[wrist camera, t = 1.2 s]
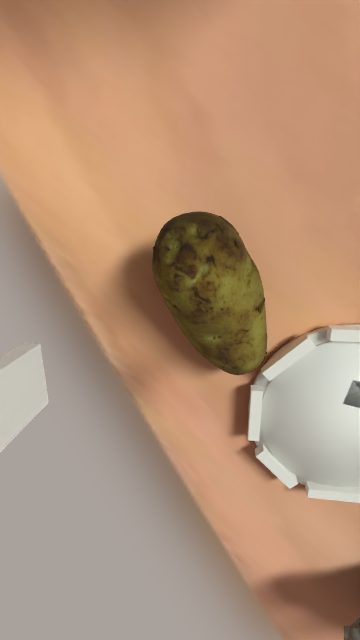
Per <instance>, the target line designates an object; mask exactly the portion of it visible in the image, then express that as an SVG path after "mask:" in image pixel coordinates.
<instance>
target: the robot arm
mask: <svg viewBox="0 0 360 640" xmlns="http://www.w3.org/2000/svg"><path fill="white" fill-rule="evenodd" d="M48 403H49V399H48V392H47V386H46V379H45V373H44V366H43V359H42V353H41V346H40V344H37V343H22V344H20V345H19V346H17V347H15V348H14V349H12V350H11V351H9V352H7V353H5V354H4V355H2V356H0V452H1V451H2V450H3V449H4V448H5V447H6V446H7V445H8V444H9V443H10V442H11V441H12V440H13V439H14V438H15V437H16V436H17V435H18V434H19V433H20V432H21V431H22V429H24V428H25V427H26V426H27V424H28V423H29V422H31V421H32V419H33V418H34V417H35V416H36V415H37V414H38V413H39V412H40V411H41V410H42V409H43V408H44V407H45V406H46V405H47V404H48Z"/></svg>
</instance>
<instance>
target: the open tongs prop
mask: <svg viewBox="0 0 360 640" xmlns="http://www.w3.org/2000/svg"><path fill="white" fill-rule="evenodd" d="M354 382H355V383H356V384H357V382H358V384H357V385H358V386H356V387H358V389H360V382H359V381H357V382H356V381H355V380H354ZM354 382H353V383H354ZM356 384H355V385H356ZM355 385H353V386H354V387H355ZM353 386H352V385H351V387H350V388H351V389H352V388H353V389H354V387H353ZM356 387H355V388H356ZM353 389H352V390H353ZM356 389H357V388H356ZM352 390H351V391H349V392H350V393H351V392H352ZM358 392H359V393H360V391H359V390H358ZM358 392H357V391H356V390H355V393H353V394H355V396H356V393H357V394H358ZM350 393H349V395H350ZM351 394H352V393H351ZM353 394H352V395H353ZM349 395H348V393H347V395H346V396H347V397H348V396H349ZM352 395H350V396H349V397H351V396H352ZM352 397H353V396H352ZM352 397H351V400H352ZM358 397H360V395H357V398H358ZM345 398H346V397H345ZM353 398H354V397H353ZM355 398H356V397H355ZM355 398H354V400H355ZM357 398H356V399H357ZM348 399H349V398H348ZM348 399H347V398H346V401H347V402H346V401H344V402H345V403H346V405H347V404H349V403H350V402H351V400H350V399H349V400H348ZM354 400H353V402H352V404H353V403H355V405H354V406H355V407H357V405H359V401H360V400H359V401H358V403H357V401H356V400H355V401H356V402H355V401H354ZM349 401H350V402H349ZM352 404H351V405H352ZM349 405H350V404H349ZM352 406H353V405H352ZM359 407H360V405H359ZM359 407H358V408H359Z"/></svg>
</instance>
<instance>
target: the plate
mask: <svg viewBox="0 0 360 640" xmlns="http://www.w3.org/2000/svg"><path fill="white" fill-rule="evenodd" d="M354 380H355V381H356V382H357V381H359V382H360V324H359V323H354V324H338V325H328V326H327V327H323V328H319V329H316V330H313V331H310V332H308V333H305V334H303V335H301V336H299V337H297V338H295V339H293V340H291V341H290V342H289V343H287V344H286V345H284V346H283V347H281V348H280V349H279V350H278V351H277V352H276V353H274V354H273V355H272V356H271V357H270V358H269V360H268V361H267V362H266V363H265V364H264V366H263V367H262V368H261V370H260V372H259V373H258V375H257V377H256V379H255V381H254V383H253V385H251V386H250V397H249V404H248V415H249V416H248V431H247V435H248V440H249V441H255V443H256V445H257V448H256V449H255V456H256V457H257V458H258V459H259V460H260V461H261V462H262V463H263V464H264V465H265V466H266V467H267V468H268V469H269V470H270V471H271V472H272V473H273V474H274V475H276V476H277V477H278V478H279V479H280V480H281V481H282V482H283V483H284V484H285V485H286V486H287V487H288V488H289V489H290V488H292V487H294V486H295V485H297V484H298V483H300V484H303V485H305V490H306V494H307V497H308V498H318V499H327V500H337V501H346V502H356V503H360V407H359V405H360V401H359V400H360V397H358V398H357V395H360V393H359V392H358V390H359V391H360V389H358V387H356V386H358V385H357V384H358V382H357V384H356V383H355V382H354ZM353 382H354V383H353ZM355 384H356V385H355ZM351 385H352V386H353V385H355V387H356V388H357V389H356V388H355V387H354V386H353V387H354V389H353V388H352V389H353V390H352V389H351V388H350V387H351ZM351 390H352V392H351V393H352V394H353V393H355V390H356V391H357V392H358V394H357V393H356V396H355V394H353V395H352V394H351V393H350V392H349V391H351ZM347 393H348V395H349V393H350V395H352V396H353V397H354V398H355V397H356V398H357V399H356V398H355V400H356V401H357V403H358V401H359V405H357V407H355V406H354V405H355V403H353V404H352V402H353V400H354V398H353V397H352V396H351V397H352V400H351V397H349V396H350V395H349V396H348V397H347V396H346V395H347ZM345 397H346V398H347V399H348V398H349V399H350V400H351V402H350V401H349V402H350V403H349V404H350V405H349V404H347V405H346V403H345V402H344V401H346V398H345ZM349 399H348V400H349ZM355 400H354V401H355ZM356 401H355V402H356ZM346 402H347V401H346ZM351 404H352V405H353V406H352V405H351ZM358 407H359V408H358Z"/></svg>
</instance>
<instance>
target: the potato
mask: <svg viewBox="0 0 360 640" xmlns="http://www.w3.org/2000/svg"><path fill="white" fill-rule="evenodd" d="M153 249H154V250H153V262H152V263H153V274H154V278H155V281H156V284H157V286H158V288H159V290H160V291H161V293H162V295H163V298H164V301H165V303H166V305H167V306H168V308H169V310H170V312H171V313H172V315H173V316H174V318H175V319H176V321H177V323H178V324H179V326H180V328H181V330H182V331H183V333H184V334H185V335H186V336H187V338H188V339H189V341H190V342H191V343H192V344H193V346H194V347H195V348H196V349H197V350H198V351H199V352H200V353H201V354H202V355H203V356H204V357H205V358H206V359H208V360H209V361H210V362H211V363H213V364H214V365H215V366H217V367H218V368H220V369H222V370H223V371H225V372H227V373H230V374H234V375H243V374H246V373H249V372H251V371H253V370H254V369H256V368H257V367H258V366H259V365H260V364H261V363H262V361H263V360H264V357H265V355H266V354H267V352H266V350H267V332H266V311H265V298H264V293H263V286H262V281H261V278H260V275H259V272H258V269H257V267H256V265H255V263H254V262H253V260H252V259H251V257H250V255H249V253H248V252H247V250H246V248H245V246H244V244H243V241H242V239H241V237H240V236H239V233H238V232H237V231H236V229H235V228H234V227H233V226H232V225H231V224H230V223H229V222H228V221H227V220H225V219H224V218H223V217H221V216H217V215H215V214H211V213H207V212H190V213H185V214H182V215H179V216H177V217H174V218H172V219H171V220H170V221H168V222H167V223H166V224H165V225H164V226H163V228H162V229H161V231H160V233H159V235H158V237H157V239H156V242H155V246H154V247H153Z"/></svg>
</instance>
